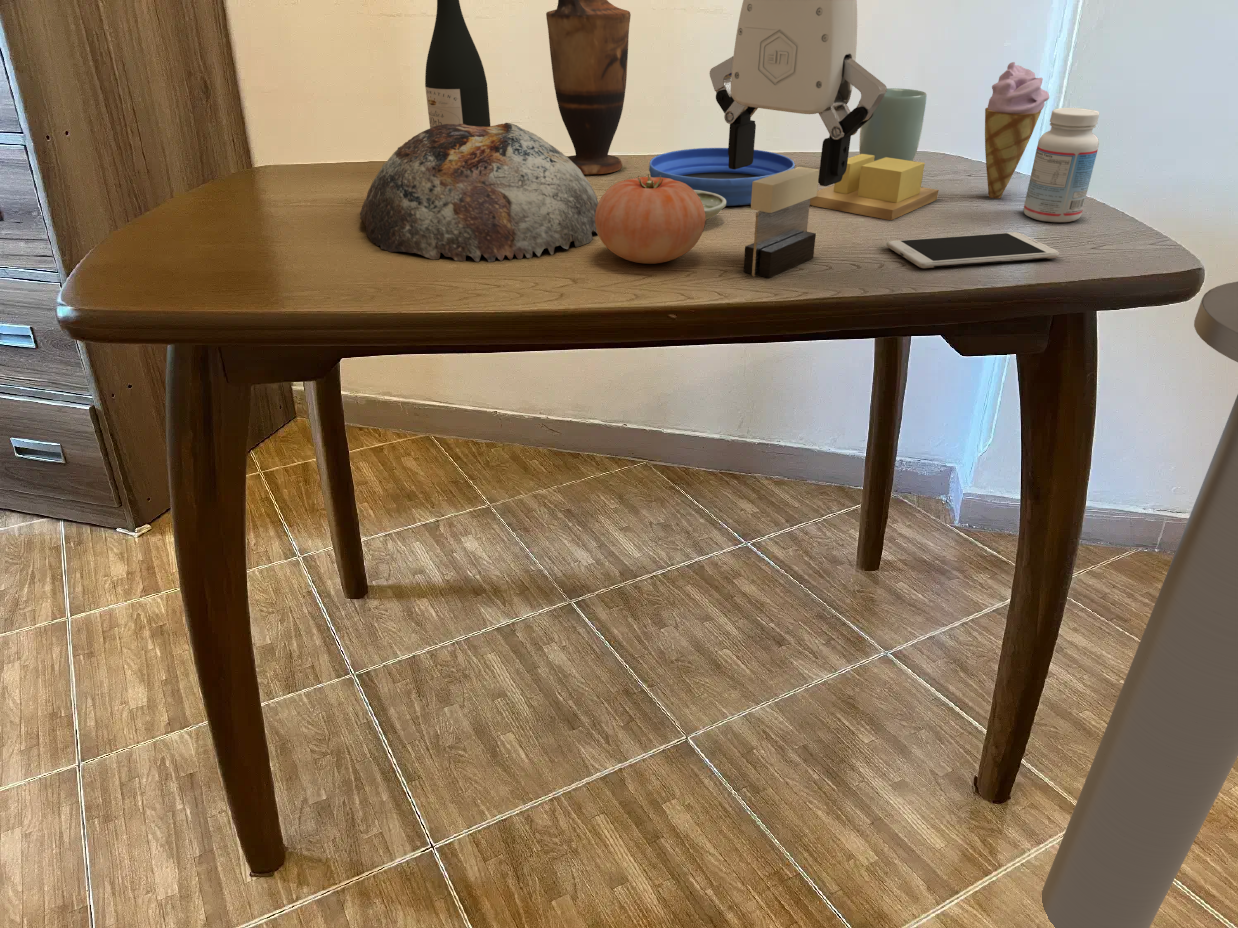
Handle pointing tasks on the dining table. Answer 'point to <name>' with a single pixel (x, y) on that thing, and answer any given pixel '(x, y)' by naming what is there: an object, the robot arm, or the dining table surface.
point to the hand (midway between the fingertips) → (783, 175)
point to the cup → (894, 125)
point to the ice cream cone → (1010, 123)
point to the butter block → (890, 179)
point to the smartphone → (971, 250)
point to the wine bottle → (455, 72)
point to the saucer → (711, 203)
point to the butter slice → (852, 174)
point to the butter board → (871, 203)
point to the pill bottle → (1063, 166)
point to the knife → (781, 207)
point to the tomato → (650, 219)
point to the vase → (590, 76)
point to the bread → (478, 195)
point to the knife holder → (781, 255)
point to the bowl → (718, 171)
